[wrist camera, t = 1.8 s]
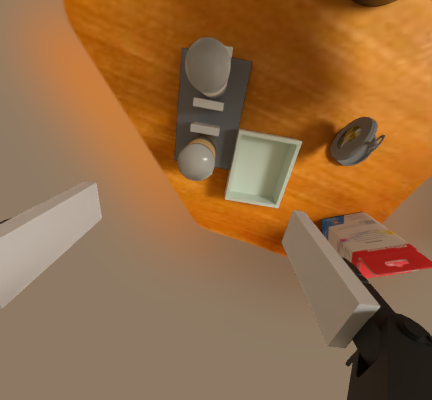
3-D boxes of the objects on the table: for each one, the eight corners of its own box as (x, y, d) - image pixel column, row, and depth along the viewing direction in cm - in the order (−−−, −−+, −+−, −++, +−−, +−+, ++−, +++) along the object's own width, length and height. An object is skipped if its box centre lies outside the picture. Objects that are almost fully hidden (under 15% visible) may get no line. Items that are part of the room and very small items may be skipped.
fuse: (201, 64, 26) (187, 32, 15) (229, 69, 26) (235, 42, 16) (198, 96, 28) (183, 88, 17) (224, 101, 28) (225, 96, 17)
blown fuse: (194, 130, 30) (179, 141, 19) (219, 134, 30) (217, 148, 20) (191, 154, 32) (176, 177, 21) (215, 158, 32) (211, 183, 21)
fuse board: (184, 50, 27) (173, 34, 21) (250, 64, 27) (258, 51, 21) (176, 158, 34) (166, 168, 28) (229, 167, 34) (231, 179, 28)
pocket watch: (366, 162, 33) (420, 181, 24) (318, 166, 34) (353, 187, 25) (379, 112, 30) (447, 113, 21) (324, 118, 30) (368, 122, 21)
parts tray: (237, 127, 31) (239, 130, 28) (294, 138, 32) (302, 141, 28) (224, 191, 36) (224, 199, 33) (273, 199, 37) (278, 208, 34)
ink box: (321, 236, 41) (368, 297, 27) (321, 218, 39) (372, 274, 25) (362, 229, 40) (432, 289, 26) (364, 210, 37) (442, 265, 24)
